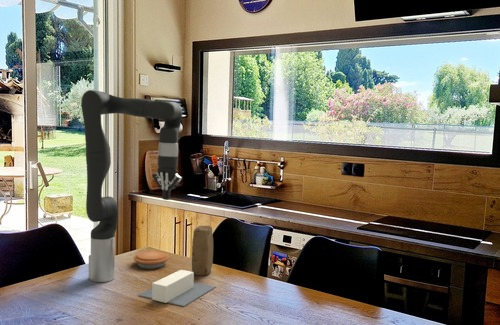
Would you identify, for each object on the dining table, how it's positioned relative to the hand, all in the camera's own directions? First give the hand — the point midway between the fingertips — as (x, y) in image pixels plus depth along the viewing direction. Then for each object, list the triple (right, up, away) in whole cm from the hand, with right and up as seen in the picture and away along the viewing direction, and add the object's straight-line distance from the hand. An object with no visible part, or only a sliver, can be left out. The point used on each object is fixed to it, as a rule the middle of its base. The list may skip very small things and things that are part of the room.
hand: (166, 199), depth 175 cm
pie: (-12, -32, +29) cm, 45 cm away
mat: (+5, -35, -2) cm, 35 cm away
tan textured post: (+12, -33, +21) cm, 41 cm away
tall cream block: (0, -32, -13) cm, 35 cm away
